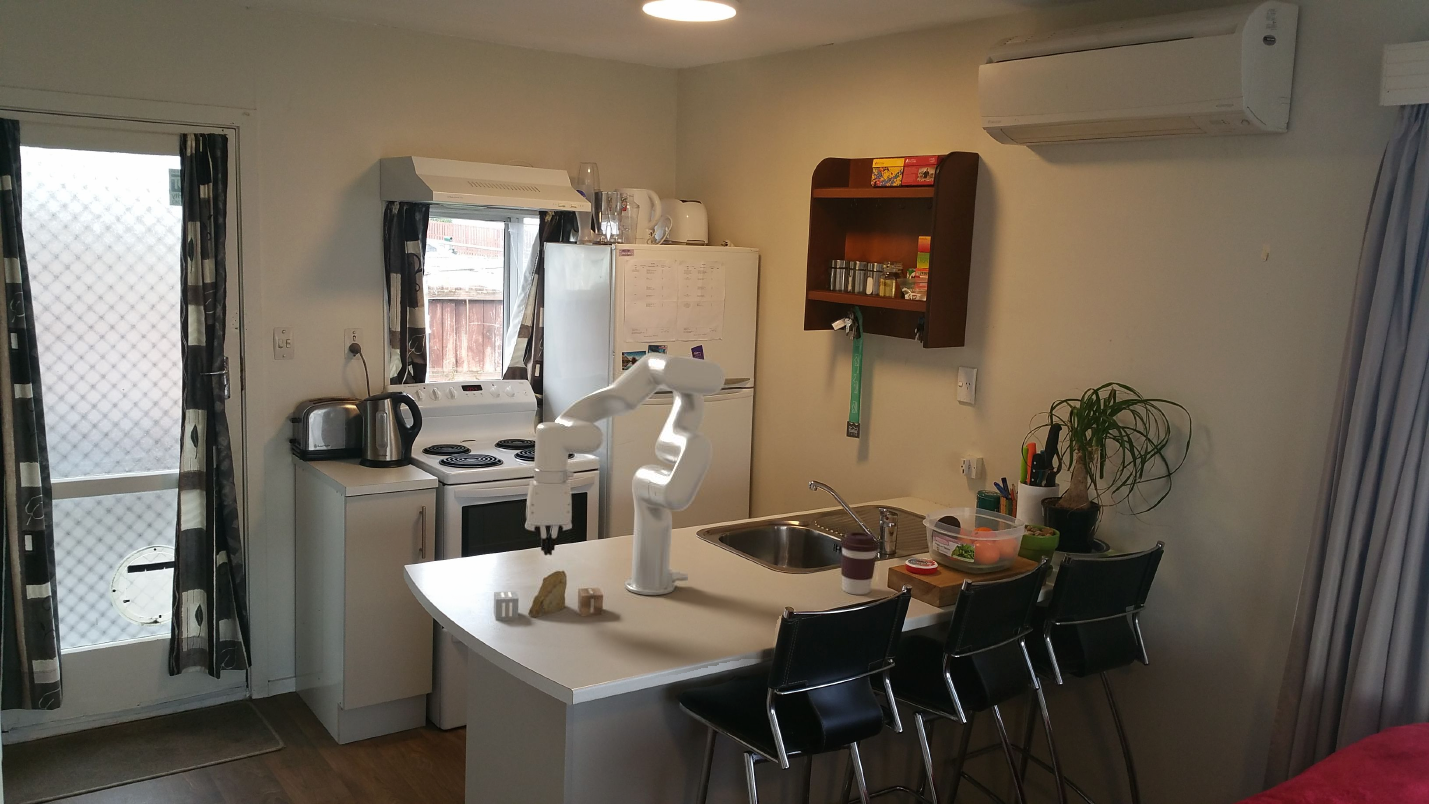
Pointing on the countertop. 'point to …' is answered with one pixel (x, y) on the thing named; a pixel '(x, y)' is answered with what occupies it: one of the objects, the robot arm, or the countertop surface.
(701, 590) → the countertop surface
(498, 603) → the grey block
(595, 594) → the walnut block
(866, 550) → the coffee cup
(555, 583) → the rock
